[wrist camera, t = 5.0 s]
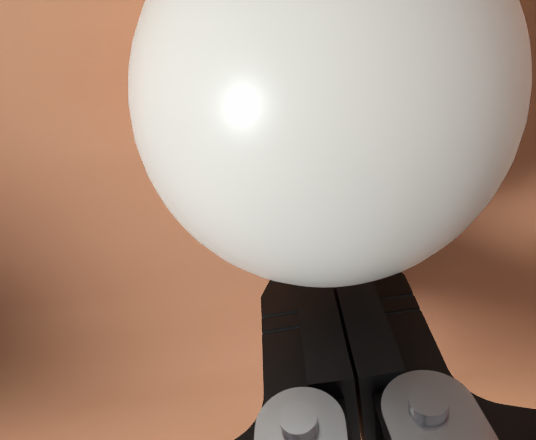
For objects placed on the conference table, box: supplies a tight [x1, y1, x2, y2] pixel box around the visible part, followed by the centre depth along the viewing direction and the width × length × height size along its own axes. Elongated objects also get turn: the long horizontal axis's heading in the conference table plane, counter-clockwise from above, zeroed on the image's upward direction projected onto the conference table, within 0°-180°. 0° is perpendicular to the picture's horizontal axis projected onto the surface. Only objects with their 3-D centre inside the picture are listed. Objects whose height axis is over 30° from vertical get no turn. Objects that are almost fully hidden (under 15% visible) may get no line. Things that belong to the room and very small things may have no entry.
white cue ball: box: [128, 0, 532, 288], centre depth 7 cm, size 6×6×6 cm
